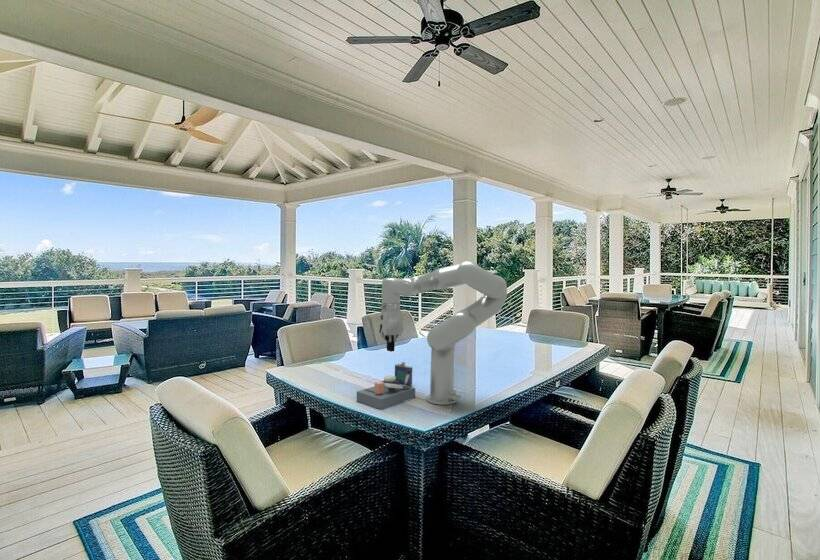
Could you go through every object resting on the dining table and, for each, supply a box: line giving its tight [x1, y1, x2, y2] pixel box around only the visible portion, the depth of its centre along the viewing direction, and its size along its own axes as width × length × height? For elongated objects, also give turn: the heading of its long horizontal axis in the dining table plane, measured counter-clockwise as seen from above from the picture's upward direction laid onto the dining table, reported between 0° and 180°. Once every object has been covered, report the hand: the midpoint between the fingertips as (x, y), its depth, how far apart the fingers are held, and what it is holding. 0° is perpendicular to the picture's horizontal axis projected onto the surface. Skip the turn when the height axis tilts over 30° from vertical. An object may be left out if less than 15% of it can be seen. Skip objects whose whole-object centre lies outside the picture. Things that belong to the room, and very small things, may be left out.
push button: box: [383, 375, 396, 383], centre depth 178 cm, size 5×5×3 cm
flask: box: [394, 361, 413, 387], centre depth 193 cm, size 9×3×11 cm, turn 59°
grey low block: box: [356, 380, 416, 411], centre depth 172 cm, size 14×20×6 cm
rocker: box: [384, 383, 403, 389], centre depth 169 cm, size 4×8×1 cm, turn 139°
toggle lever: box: [404, 369, 413, 387], centre depth 174 cm, size 2×2×7 cm
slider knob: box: [374, 381, 384, 394], centre depth 166 cm, size 2×3×4 cm
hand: (390, 350), depth 177 cm, fingers closed
